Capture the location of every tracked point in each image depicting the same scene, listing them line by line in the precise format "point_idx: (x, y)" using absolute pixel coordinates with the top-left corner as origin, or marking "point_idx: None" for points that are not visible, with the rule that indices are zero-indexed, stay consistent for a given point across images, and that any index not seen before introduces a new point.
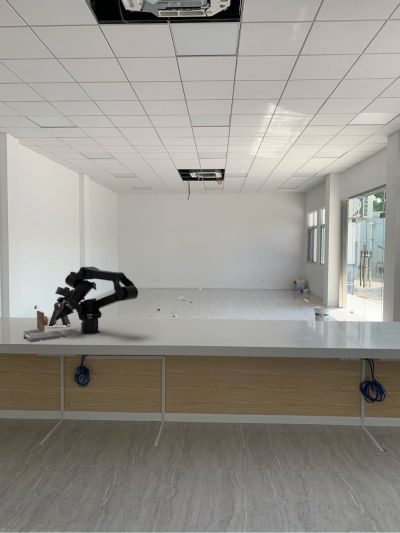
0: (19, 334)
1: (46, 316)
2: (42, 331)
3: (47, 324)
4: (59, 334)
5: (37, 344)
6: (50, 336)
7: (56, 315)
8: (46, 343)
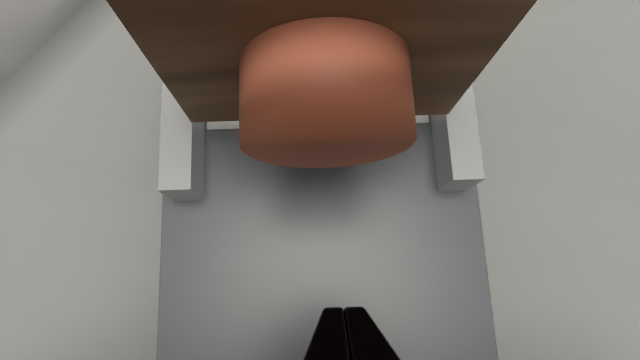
0: (631, 9)
1: (296, 107)
2: (441, 170)
3: (270, 162)
4: (208, 323)
5: (33, 46)
6: (163, 198)
7: (375, 356)
8: (11, 123)
